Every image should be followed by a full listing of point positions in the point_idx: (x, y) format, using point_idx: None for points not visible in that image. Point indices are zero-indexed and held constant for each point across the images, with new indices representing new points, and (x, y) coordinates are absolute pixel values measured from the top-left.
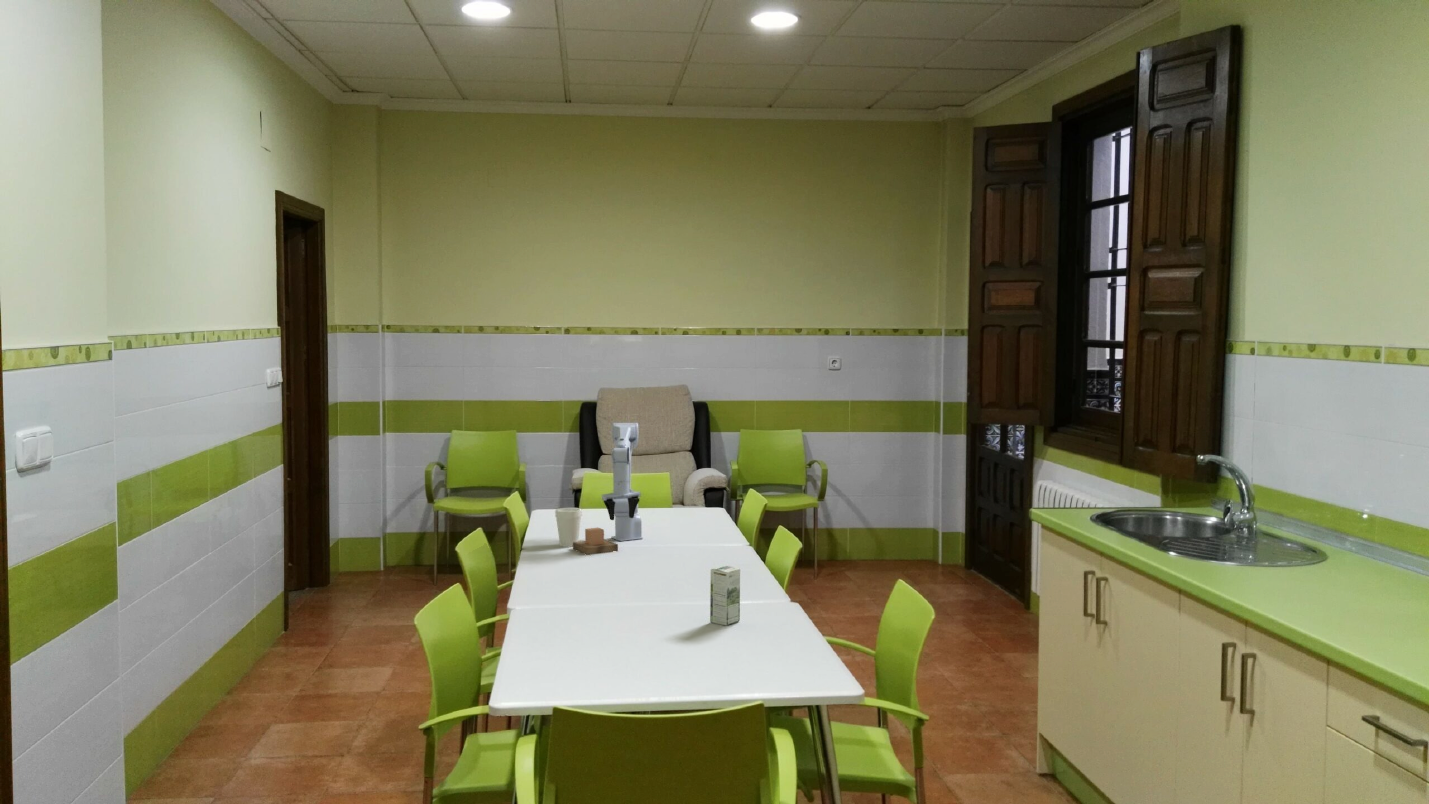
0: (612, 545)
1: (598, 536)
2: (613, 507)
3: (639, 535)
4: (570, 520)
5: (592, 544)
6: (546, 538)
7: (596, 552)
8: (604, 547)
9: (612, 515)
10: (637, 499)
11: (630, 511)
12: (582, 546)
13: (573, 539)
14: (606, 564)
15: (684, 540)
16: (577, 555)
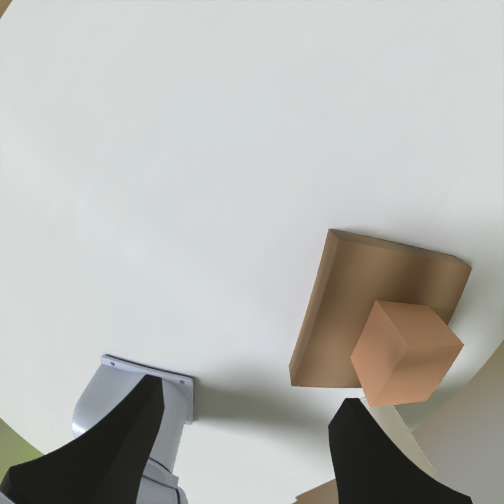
0: (368, 244)
1: (417, 324)
2: (404, 485)
3: (106, 370)
4: (420, 461)
5: (424, 306)
6: (331, 469)
7: (427, 251)
8: (405, 250)
9: (377, 424)
10: (21, 500)
11: (145, 439)
12: (455, 306)
13: (382, 411)
14: (485, 67)
15: (5, 232)
16: (473, 268)
